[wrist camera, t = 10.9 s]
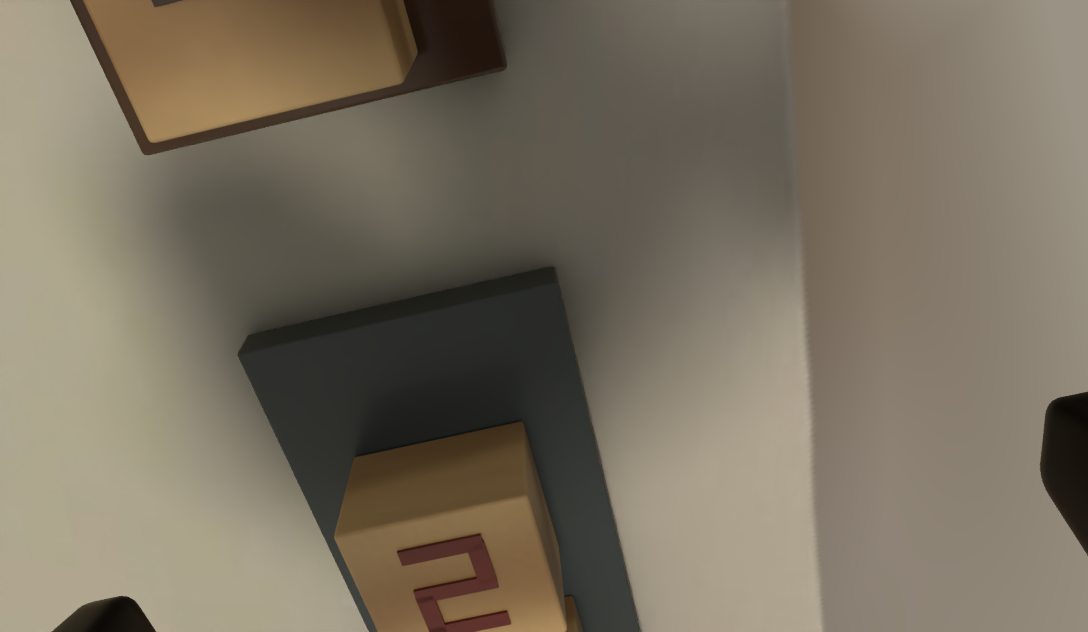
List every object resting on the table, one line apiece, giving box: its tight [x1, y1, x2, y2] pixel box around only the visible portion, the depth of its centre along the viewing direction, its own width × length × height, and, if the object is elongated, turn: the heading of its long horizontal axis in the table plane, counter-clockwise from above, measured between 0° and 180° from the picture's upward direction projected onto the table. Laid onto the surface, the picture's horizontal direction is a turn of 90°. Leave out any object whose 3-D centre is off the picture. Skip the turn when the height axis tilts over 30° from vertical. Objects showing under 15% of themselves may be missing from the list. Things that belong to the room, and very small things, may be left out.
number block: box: [334, 421, 567, 632], centre depth 20 cm, size 5×5×3 cm
